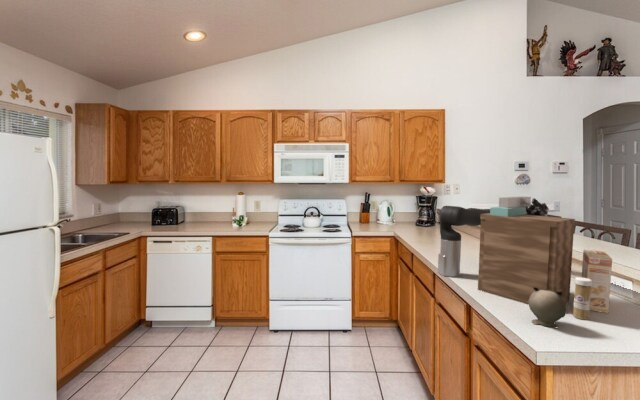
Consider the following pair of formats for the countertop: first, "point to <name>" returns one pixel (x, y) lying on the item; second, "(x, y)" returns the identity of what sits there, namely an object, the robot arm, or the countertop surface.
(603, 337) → the countertop surface
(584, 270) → the coffeecake box
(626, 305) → the countertop surface
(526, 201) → the metal bar
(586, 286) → the sprinkles bottle
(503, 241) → the walnut shelf
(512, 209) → the teal base block
